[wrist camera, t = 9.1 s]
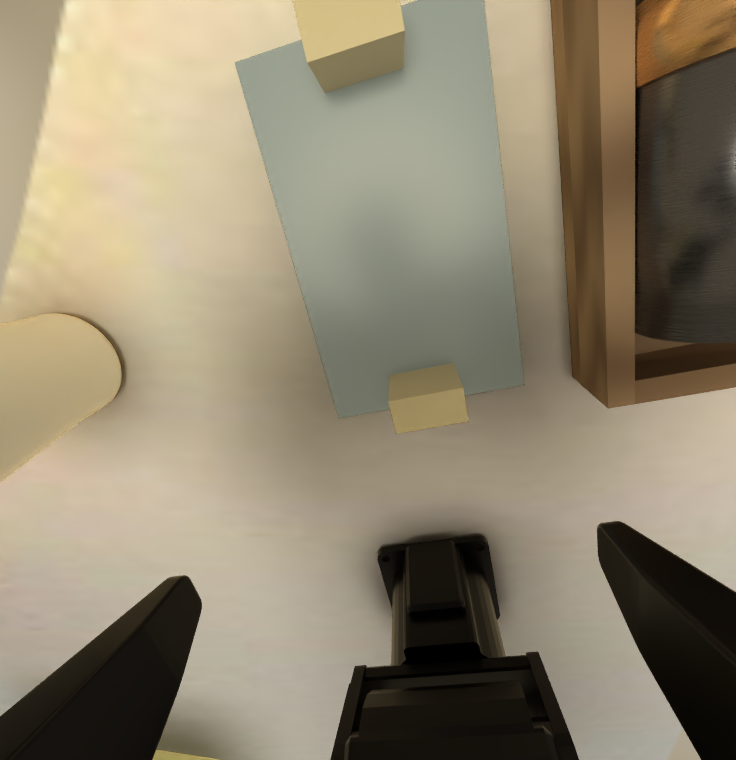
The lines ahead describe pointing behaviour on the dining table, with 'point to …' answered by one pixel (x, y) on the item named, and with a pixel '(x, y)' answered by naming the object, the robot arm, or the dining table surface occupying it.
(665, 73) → the battery cell
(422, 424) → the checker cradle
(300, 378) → the dining table surface
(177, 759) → the slatted curved stool
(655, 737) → the dining table surface
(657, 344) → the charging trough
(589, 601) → the dining table surface
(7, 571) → the dining table surface
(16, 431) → the drinking glass
